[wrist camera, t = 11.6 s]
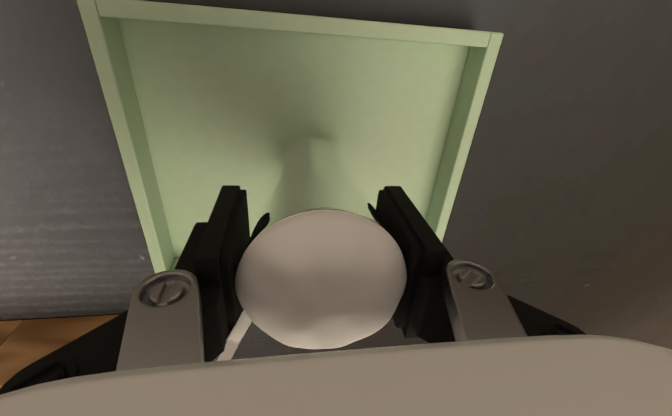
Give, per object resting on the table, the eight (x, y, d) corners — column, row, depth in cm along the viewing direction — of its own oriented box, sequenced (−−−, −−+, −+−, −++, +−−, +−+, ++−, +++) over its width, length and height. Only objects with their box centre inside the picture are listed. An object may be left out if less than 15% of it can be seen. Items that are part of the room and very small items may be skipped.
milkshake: (232, 150, 14) (131, 335, 6) (339, 106, 14) (403, 236, 5) (276, 224, 17) (251, 435, 8) (369, 188, 16) (449, 373, 8)
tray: (170, 257, 19) (157, 284, 17) (107, -1, 12) (73, -7, 10) (419, 249, 21) (433, 272, 20) (476, 32, 15) (504, 32, 13)
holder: (53, 425, 26) (12, 495, 22) (-22, 321, 19) (-99, 394, 16) (212, 408, 27) (200, 470, 24) (189, 310, 21) (167, 372, 17)
